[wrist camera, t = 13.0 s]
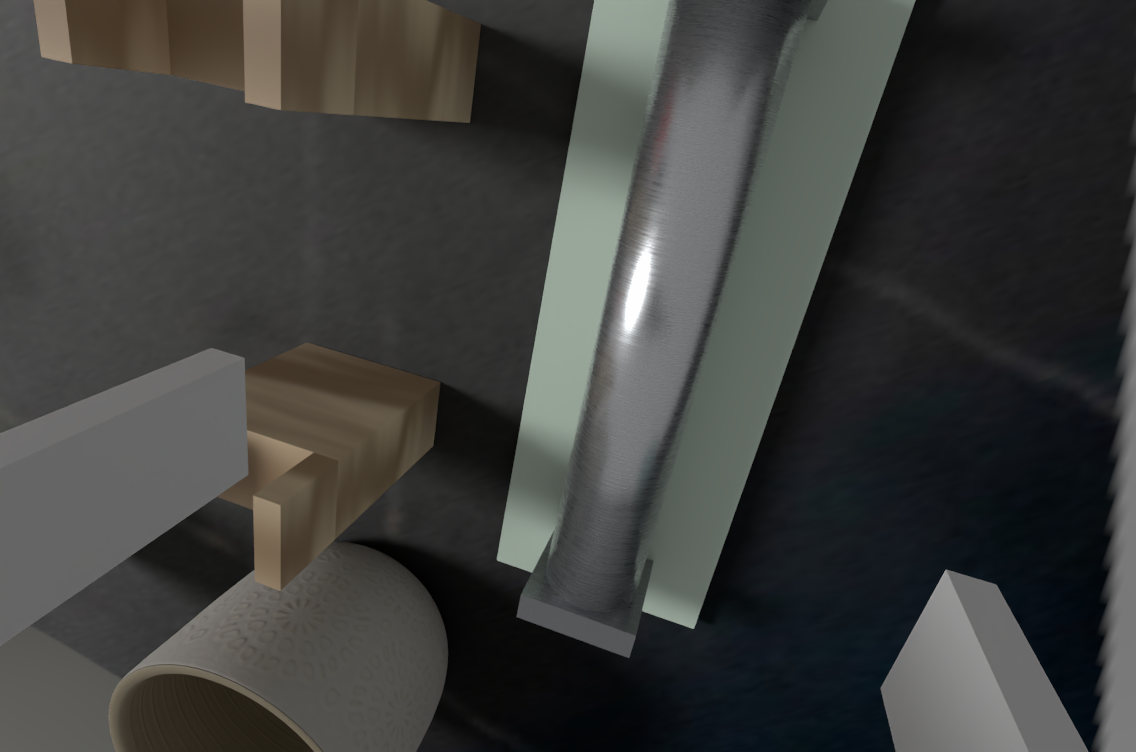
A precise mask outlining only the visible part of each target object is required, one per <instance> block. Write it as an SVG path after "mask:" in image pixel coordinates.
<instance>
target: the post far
mask: <svg viewBox="0 0 1136 752" xmlns="http://www.w3.org/2000/svg"><path fill="white" fill-rule="evenodd" d="M440 383H441V382H438V381H435V380H432V379H428V378H425V377H422V376H418V375H415V374H411V373H408V372H405V371H401V370H398V369H395V368H391V367H388V366H385V365H381V364H378V363H375V362H371V361H368V360H365V359H361V358H358V357H355V356H351V355H348V354H345V353H341V352H338V351H334V350H331V349H328V348H324V347H321V346H318V345H314V344H311V343H308V342H307V343H305V344H303V345H301V346H298V347H296V348H294V349H292V350H290V351H287V352H285V353H283V354H281V355H278V356H276V357H274V358H272V359H270V360H267V361H265V362H263V363H261V364H258V365H256V366H254V367H252V368H249V369H247V370H245V388H246V417H247V446H248V475H247V476H246V477H244V478H243V479H242V480H240V481H239V482H237V483H236V484H234V485H233V486H231V487H230V488H228V489H227V490H226V491H224V492H223V493H221V494H220V495H218V496H217V497H219V498H222V499H224V500H227V501H230V502H233V503H236V504H238V505H241V506H244V507H247V508H249V509H252V510H253V515H254V564H255V582H258V583H261V584H263V585H266V586H268V587H271V588H274V589H276V590H279V591H281V590H282V589H283V588H284V587H285V586H287V585H288V584H289V583H290V582H291V581H292V580H293V579H294V578H295V577H296V576H297V575H298V574H299V573H300V572H301V571H302V570H303V569H304V568H305V567H306V566H308V565H309V564H310V563H311V562H312V561H313V560H314V559H315V558H316V557H317V556H318V555H319V554H320V553H321V552H322V551H323V550H324V549H325V548H326V547H328V546H329V545H330V544H331V543H332V542H333V541H334V540H335V539H336V538H337V537H338V536H339V535H340V534H341V533H342V532H343V531H344V530H345V529H346V528H348V527H349V526H350V525H351V524H352V523H353V522H354V521H355V520H356V519H357V518H358V517H359V516H360V515H361V514H362V513H363V512H364V511H365V510H366V509H368V508H369V507H370V506H371V505H372V504H373V503H374V502H375V501H376V500H377V499H378V498H379V497H380V496H381V495H382V494H383V493H384V492H385V491H386V490H388V489H389V488H390V487H391V486H392V485H393V484H394V483H395V482H396V481H397V480H398V479H399V478H400V477H401V476H402V475H403V474H404V473H405V472H406V471H408V470H409V469H410V468H411V467H412V466H413V465H414V464H415V463H416V462H417V461H418V460H419V459H420V458H421V457H422V456H423V455H424V454H425V453H426V452H428V451H429V450H430V449H431V448H432V447H433V445H434V436H435V427H436V418H437V410H438V401H439V392H440Z"/></svg>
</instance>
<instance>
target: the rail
mask: <svg viewBox="0 0 1136 752" xmlns="http://www.w3.org/2000/svg"><path fill="white" fill-rule="evenodd" d="M827 1H828V0H669V3H668V8H667V13H666V17H665V22H664V27H663V31H662V36H661V40H660V45H659V50H658V54H657V59H656V63H655V68H654V73H653V77H652V82H651V86H650V91H649V96H648V100H647V105H646V109H645V114H644V119H643V123H642V128H641V133H640V137H639V142H638V146H637V151H636V156H635V160H634V165H633V169H632V174H631V179H630V183H629V188H628V192H627V197H626V202H625V206H624V211H623V215H622V220H621V225H620V229H619V234H618V239H617V243H616V248H615V252H614V257H613V262H612V266H611V271H610V275H609V280H608V285H607V289H606V294H605V298H604V303H603V308H602V312H601V317H600V321H599V326H598V331H597V335H596V340H595V345H594V349H593V354H592V358H591V363H590V368H589V372H588V377H587V381H586V386H585V391H584V395H583V400H582V404H581V409H580V414H579V418H578V423H577V427H576V432H575V437H574V441H573V446H572V451H571V455H570V460H569V464H568V469H567V474H566V478H565V483H564V487H563V492H562V497H561V501H560V506H559V510H558V515H557V520H556V524H555V529H554V531H553V533H552V535H551V537H550V539H549V541H548V543H547V545H546V547H545V549H544V551H543V553H542V555H541V557H540V558H539V560H538V562H537V564H536V566H535V568H534V570H533V572H532V574H531V576H530V578H529V580H528V582H527V584H526V586H525V588H524V590H523V592H522V594H521V597H520V602H519V607H518V612H517V617H518V618H521V619H523V620H526V621H529V622H532V623H534V624H537V625H540V626H543V627H545V628H548V629H551V630H553V631H556V632H559V633H562V634H564V635H567V636H570V637H573V638H575V639H578V640H581V641H584V642H586V643H589V644H592V645H595V646H597V647H600V648H603V649H605V650H608V651H611V652H614V653H616V654H619V655H622V656H625V657H627V658H629V657H630V654H631V650H632V647H633V644H634V641H635V637H636V634H637V629H638V625H639V621H640V617H641V613H642V608H643V604H644V600H645V596H646V592H647V587H648V583H649V579H650V575H651V570H652V566H653V562H654V561H652V560H649V559H646V558H647V555H648V552H649V548H650V545H651V541H652V538H653V535H654V531H655V528H656V525H657V521H658V518H659V514H660V511H661V508H662V504H663V501H664V498H665V494H666V491H667V487H668V484H669V481H670V477H671V474H672V471H673V467H674V464H675V460H676V457H677V454H678V450H679V447H680V444H681V440H682V437H683V433H684V430H685V427H686V423H687V420H688V417H689V413H690V410H691V406H692V403H693V400H694V396H695V393H696V390H697V386H698V383H699V379H700V376H701V373H702V369H703V366H704V363H705V359H706V356H707V352H708V349H709V346H710V342H711V339H712V335H713V332H714V329H715V325H716V322H717V319H718V315H719V312H720V308H721V305H722V302H723V298H724V295H725V292H726V288H727V285H728V281H729V278H730V275H731V271H732V268H733V265H734V261H735V258H736V254H737V251H738V248H739V244H740V241H741V238H742V234H743V231H744V227H745V224H746V221H747V217H748V214H749V211H750V207H751V204H752V200H753V197H754V194H755V190H756V187H757V184H758V180H759V177H760V173H761V170H762V167H763V163H764V160H765V157H766V153H767V150H768V146H769V143H770V140H771V136H772V133H773V130H774V126H775V123H776V119H777V116H778V113H779V109H780V106H781V102H782V99H783V96H784V92H785V89H786V86H787V82H788V79H789V75H790V72H791V69H792V65H793V62H794V59H795V55H796V52H797V48H798V45H799V42H800V38H801V35H802V32H803V28H804V25H805V21H806V19H809V20H815V21H817V20H818V18H819V16H820V15H821V13H822V11H823V9H824V7H825V5H826V3H827Z"/></svg>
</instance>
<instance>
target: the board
mask: <svg viewBox="0 0 1136 752" xmlns="http://www.w3.org/2000/svg"><path fill="white" fill-rule="evenodd" d="M915 1H916V0H828V1H827V3H826V5H825V7H824V9H823V11H822V13H821V15H820V16H819V18H818V20H817V21H815V20H809V19H806V21H805V25H804V28H803V32H802V35H801V38H800V42H799V45H798V48H797V52H796V55H795V59H794V62H793V65H792V69H791V72H790V75H789V79H788V82H787V86H786V89H785V92H784V96H783V99H782V102H781V106H780V109H779V113H778V116H777V119H776V123H775V126H774V130H773V133H772V136H771V140H770V143H769V146H768V150H767V153H766V157H765V160H764V163H763V167H762V170H761V173H760V177H759V180H758V184H757V187H756V190H755V194H754V197H753V200H752V204H751V207H750V211H749V214H748V217H747V221H746V224H745V227H744V231H743V234H742V238H741V241H740V244H739V248H738V251H737V254H736V258H735V261H734V265H733V268H732V271H731V275H730V278H729V281H728V285H727V288H726V292H725V295H724V298H723V302H722V305H721V308H720V312H719V315H718V319H717V322H716V325H715V329H714V332H713V335H712V339H711V342H710V346H709V349H708V352H707V356H706V359H705V363H704V366H703V369H702V373H701V376H700V379H699V383H698V386H697V390H696V393H695V396H694V400H693V403H692V406H691V410H690V413H689V417H688V420H687V423H686V427H685V430H684V433H683V437H682V440H681V444H680V447H679V450H678V454H677V457H676V460H675V464H674V467H673V471H672V474H671V477H670V481H669V484H668V487H667V491H666V494H665V498H664V501H663V504H662V508H661V511H660V514H659V518H658V521H657V525H656V528H655V531H654V535H653V538H652V541H651V545H650V548H649V552H648V555H647V558H646V559H649V560H652V561H654V562H653V566H652V570H651V575H650V579H649V583H648V587H647V592H646V596H645V600H644V604H643V608H642V611H644V612H646V613H649V614H652V615H655V616H658V617H661V618H664V619H667V620H669V621H672V622H675V623H678V624H681V625H684V626H687V627H689V628H692V629H694V627H695V624H696V621H697V619H698V616H699V613H700V610H701V607H702V604H703V602H704V599H705V596H706V593H707V590H708V587H709V585H710V582H711V579H712V576H713V573H714V570H715V568H716V565H717V562H718V559H719V556H720V553H721V551H722V548H723V545H724V542H725V539H726V536H727V534H728V531H729V528H730V525H731V522H732V519H733V517H734V514H735V511H736V508H737V505H738V502H739V500H740V497H741V494H742V491H743V488H744V485H745V483H746V480H747V477H748V474H749V471H750V468H751V465H752V463H753V460H754V457H755V454H756V451H757V448H758V446H759V443H760V440H761V437H762V434H763V431H764V429H765V426H766V423H767V420H768V417H769V414H770V412H771V409H772V406H773V403H774V400H775V397H776V395H777V392H778V389H779V386H780V383H781V380H782V378H783V375H784V372H785V369H786V366H787V363H788V361H789V358H790V355H791V352H792V349H793V346H794V344H795V341H796V338H797V335H798V332H799V329H800V327H801V324H802V321H803V318H804V315H805V312H806V310H807V307H808V304H809V301H810V298H811V295H812V293H813V290H814V287H815V284H816V281H817V278H818V276H819V273H820V270H821V267H822V264H823V261H824V259H825V256H826V253H827V250H828V247H829V244H830V242H831V239H832V236H833V233H834V230H835V227H836V225H837V222H838V219H839V216H840V213H841V210H842V208H843V205H844V202H845V199H846V196H847V193H848V190H849V188H850V185H851V182H852V179H853V176H854V173H855V171H856V168H857V165H858V162H859V159H860V156H861V154H862V151H863V148H864V145H865V142H866V139H867V137H868V134H869V131H870V128H871V125H872V122H873V120H874V117H875V114H876V111H877V108H878V105H879V103H880V100H881V97H882V94H883V91H884V88H885V86H886V83H887V80H888V77H889V74H890V71H891V69H892V66H893V63H894V60H895V57H896V54H897V52H898V49H899V46H900V43H901V40H902V37H903V35H904V32H905V29H906V26H907V23H908V20H909V18H910V15H911V12H912V9H913V6H914V3H915ZM668 3H669V0H594V6H593V12H592V18H591V23H590V29H589V35H588V41H587V46H586V52H585V58H584V63H583V69H582V75H581V81H580V86H579V92H578V98H577V104H576V109H575V115H574V121H573V126H572V132H571V138H570V144H569V149H568V155H567V161H566V167H565V172H564V178H563V184H562V189H561V195H560V201H559V207H558V212H557V218H556V224H555V230H554V235H553V241H552V247H551V252H550V258H549V264H548V270H547V275H546V281H545V287H544V293H543V298H542V304H541V310H540V315H539V321H538V327H537V333H536V338H535V344H534V350H533V356H532V361H531V367H530V373H529V378H528V384H527V390H526V396H525V401H524V407H523V413H522V419H521V424H520V430H519V436H518V441H517V447H516V453H515V459H514V464H513V470H512V476H511V482H510V487H509V493H508V499H507V504H506V510H505V516H504V522H503V527H502V533H501V539H500V545H499V550H498V556H497V561H500V562H503V563H506V564H509V565H512V566H515V567H518V568H520V569H523V570H526V571H529V572H533V570H534V568H535V566H536V564H537V562H538V560H539V558H540V557H541V555H542V553H543V551H544V549H545V547H546V545H547V543H548V541H549V539H550V537H551V535H552V533H553V531H554V529H555V524H556V520H557V515H558V510H559V506H560V501H561V497H562V492H563V487H564V483H565V478H566V474H567V469H568V464H569V460H570V455H571V451H572V446H573V441H574V437H575V432H576V427H577V423H578V418H579V414H580V409H581V404H582V400H583V395H584V391H585V386H586V381H587V377H588V372H589V368H590V363H591V358H592V354H593V349H594V345H595V340H596V335H597V331H598V326H599V321H600V317H601V312H602V308H603V303H604V298H605V294H606V289H607V285H608V280H609V275H610V271H611V266H612V262H613V257H614V252H615V248H616V243H617V239H618V234H619V229H620V225H621V220H622V215H623V211H624V206H625V202H626V197H627V192H628V188H629V183H630V179H631V174H632V169H633V165H634V160H635V156H636V151H637V146H638V142H639V137H640V133H641V128H642V123H643V119H644V114H645V109H646V105H647V100H648V96H649V91H650V86H651V82H652V77H653V73H654V68H655V63H656V59H657V54H658V50H659V45H660V40H661V36H662V31H663V27H664V22H665V17H666V13H667V8H668Z"/></svg>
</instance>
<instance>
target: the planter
mask: <svg viewBox="0 0 1136 752" xmlns="http://www.w3.org/2000/svg"><path fill="white" fill-rule="evenodd" d="M447 665H448V643H447V636H446V631H445V627H444V623H443V620H442V617H441V615H440V612H439V610H438V608H437V606H436V604H435V602H434V600H433V599H432V597H431V595H430V594H429V592H428V591H427V589H426V588H425V587H424V586H423V584H422V583H421V582H420V581H419V580H418V579H417V578H416V577H415V576H414V575H413V574H412V573H411V572H410V571H409V570H408V569H407V568H405V567H404V566H403V565H402V564H400V563H399V562H397V561H396V560H394V559H393V558H391V557H389V556H388V555H386V554H384V553H382V552H380V551H377V550H375V549H372V548H369V547H366V546H363V545H359V544H355V543H348V542H338V541H333V542H332V543H331V544H330V545H329V546H328V547H326V548H325V549H324V550H323V551H322V552H321V553H320V554H319V555H318V556H317V557H316V558H315V559H314V560H313V561H312V562H311V563H310V564H309V565H308V566H306V567H305V568H304V569H303V570H302V571H301V572H300V573H299V574H298V575H297V576H296V577H295V578H294V579H293V580H292V581H291V582H290V583H289V584H288V585H287V586H285V587H284V588H283V589H282V590H281V591H279V590H276V589H274V588H271V587H268V586H266V585H263V584H261V583H258V582H255V570H254V571H252V572H251V573H249V574H248V575H247V576H246V577H244V578H243V579H242V580H240V581H239V582H238V583H237V584H235V585H234V586H233V587H232V588H230V589H229V590H228V591H226V592H225V593H224V594H223V595H221V596H220V597H219V598H218V599H216V600H215V601H214V602H213V603H211V604H210V605H209V606H208V607H207V608H206V609H204V610H203V611H202V612H201V613H200V614H198V615H197V616H196V617H195V618H194V619H193V620H191V621H190V622H189V623H188V624H187V625H185V626H184V627H183V628H182V629H181V630H180V631H178V632H177V633H176V634H175V635H174V636H172V637H171V638H170V639H169V640H167V641H166V642H165V643H164V644H162V645H161V646H160V647H159V648H158V649H156V650H155V651H154V652H153V653H151V654H150V655H149V656H148V657H147V658H145V659H144V660H143V661H142V662H141V663H140V664H138V665H137V666H136V667H135V668H134V669H133V670H131V671H130V672H129V673H128V674H127V675H126V676H125V677H124V678H123V679H122V680H121V681H120V682H119V684H118V685H117V686H116V688H115V690H114V692H113V695H112V697H111V701H110V706H109V727H110V733H111V737H112V741H113V744H114V747H115V750H116V752H416V751H417V749H418V747H419V745H420V743H421V741H422V739H423V737H424V735H425V733H426V731H427V729H428V727H429V725H430V723H431V721H432V719H433V716H434V714H435V711H436V708H437V706H438V703H439V700H440V698H441V695H442V692H443V688H444V683H445V678H446V673H447Z"/></svg>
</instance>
